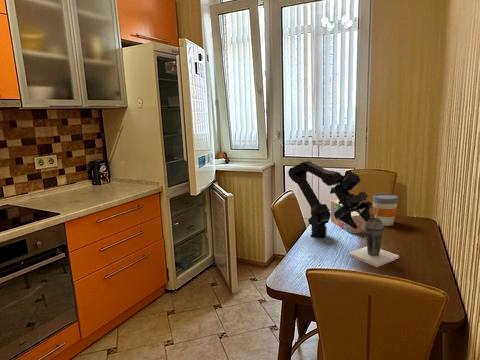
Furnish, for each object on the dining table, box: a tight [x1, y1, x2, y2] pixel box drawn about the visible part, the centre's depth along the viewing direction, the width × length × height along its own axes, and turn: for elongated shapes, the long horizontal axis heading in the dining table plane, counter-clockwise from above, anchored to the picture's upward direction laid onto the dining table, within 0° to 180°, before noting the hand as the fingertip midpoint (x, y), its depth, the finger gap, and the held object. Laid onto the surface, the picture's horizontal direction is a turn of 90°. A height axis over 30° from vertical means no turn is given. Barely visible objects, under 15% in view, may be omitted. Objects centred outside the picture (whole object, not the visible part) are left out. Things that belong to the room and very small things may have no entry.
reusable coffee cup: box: [372, 193, 399, 227], centre depth 184 cm, size 13×13×15 cm
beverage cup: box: [365, 207, 385, 256], centre depth 142 cm, size 7×7×20 cm
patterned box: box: [330, 199, 363, 234], centre depth 181 cm, size 21×6×12 cm, turn 13°
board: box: [347, 246, 400, 268], centre depth 144 cm, size 14×14×1 cm
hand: (363, 226), depth 146 cm, fingers open, 9 cm apart
